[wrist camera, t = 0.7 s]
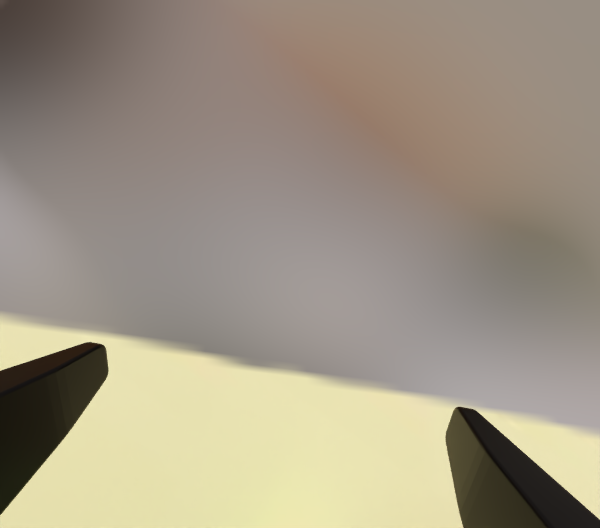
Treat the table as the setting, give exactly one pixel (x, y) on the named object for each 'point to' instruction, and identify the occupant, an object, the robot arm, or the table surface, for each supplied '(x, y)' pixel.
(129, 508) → the table surface
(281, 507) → the table surface
